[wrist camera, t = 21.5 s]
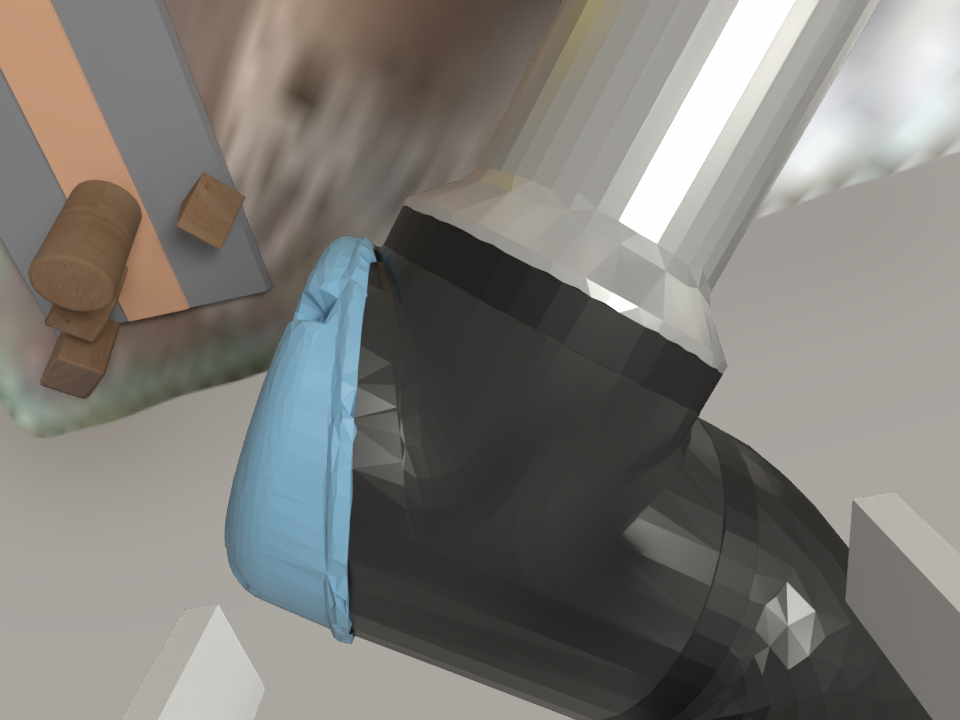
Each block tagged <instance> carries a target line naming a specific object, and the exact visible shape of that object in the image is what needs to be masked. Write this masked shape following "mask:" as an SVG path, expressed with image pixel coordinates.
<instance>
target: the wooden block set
mask: <svg viewBox="0 0 960 720" xmlns="http://www.w3.org/2000/svg"><path fill="white" fill-rule="evenodd" d="M244 199H245V197H244V196H243V195H241V194H240V193H238V192H236V191H235V190H233V189H232V188H230V187H228V186H227V185H225V184H223V183H222V182H220V181H219V180H217V179H215V178H214V177H212V176H211V175H209V174H207V173H206V172H203V173H202V174H201V176H200V177H199V179H198V180H197V182H196V183H195V185H194V186H193V188H192V189H191V190H190V192H189V193H188V195H187V196H186V198H185V199H184V201H183V202H182V205H181V209H180V213H179V218H178V222H177V227H179V228H180V229H182V230H184V231H186V232H188V233H190V234H192V235H193V236H195V237H197V238H199V239H201V240H203V241H205V242H206V243H208V244H210V245H212V246H214V247H216V248H217V249H219V250H221V248H222V246H223V244H224V242H225V240H226V238H227V235H228V233H229V231H230V229H231V227H232V225H233V223H234V220H235V218H236V216H237V214H238V212H239V210H240V207H241V205H242V203H243V201H244ZM141 219H142V213H141V208H140V206H139V204H138V202H137V201H136V199H135V198H134V197H133V196H132V195H131V194H130V193H129V192H128V191H126V190H125V189H123V188H122V187H120V186H118V185H116V184H113V183H111V182H108V181H102V180H87V181H84V182H82V183H79V184H78V185H77V186H76V187H75V188H74V189H73V190H72V192H71V194H70V195H69V197H68V199H67V201H66V202H65V204H64V206H63V208H62V209H61V211H60V213H59V215H58V217H57V218H56V220H55V222H54V224H53V225H52V227H51V229H50V231H49V232H48V234H47V236H46V238H45V240H44V241H43V243H42V245H41V247H40V248H39V250H38V252H37V254H36V255H35V257H34V259H33V261H32V262H31V264H30V267H29V271H28V275H29V279H30V283H31V285H32V286H33V288H34V289H35V290H36V292H37V293H38V294H39V295H41V296H42V297H43V298H44V299H46V300H47V301H49V302H51V303H53V305H52V307H51V309H50V312H49V314H48V316H47V318H46V320H45V324H46V325H47V326H49V327H52V328H54V329H57V330H60V331H61V333H60V336H59V338H58V340H57V343H56V345H55V347H54V350H53V352H52V354H51V357H50V359H49V362H48V364H47V366H46V369H45V371H44V373H43V376H42V378H41V380H40V381H41V385H42V386H44V387H48V388H51V389H54V390H57V391H60V392H63V393H66V394H70V395H73V396H76V397H79V398H82V399H86V398H87V397H89V396H90V394H91V393H92V391H93V390H94V389H95V387H96V386H97V385H98V383H99V382H100V380H101V379H102V378H103V376H104V375H105V372H106V369H107V365H108V362H109V359H110V356H111V352H112V349H113V346H114V343H115V340H116V336H117V333H118V330H119V324H118V323H117V322H115V321H112V320H110V319H109V318H110V316H111V314H112V312H113V310H114V308H115V306H116V304H117V302H118V299H119V296H120V293H121V290H122V287H123V284H124V281H125V278H126V275H127V272H128V268H127V267H126V266H125V265H126V262H127V260H128V257H129V254H130V251H131V248H132V245H133V242H134V239H135V236H136V233H137V230H138V227H139V224H140V221H141Z"/></svg>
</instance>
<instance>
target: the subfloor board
mask: <svg viewBox="0 0 960 720" xmlns="http://www.w3.org/2000/svg"><path fill="white" fill-rule="evenodd" d="M203 172H206V173H207V174H209V175H211V176H212V177H214V178H215V179H217V180H219V181H220V182H222V183H223V184H225V185H227V186H228V187H230V188H232V189H233V190H235V191H236V189H235V187H234V184H233V181H232V179H231V176H230V174H229V171H228V168H227V166H226V163H225V160H224V158H223V155H222V153H221V150H220V147H219V145H218V142H217V140H216V137H215V134H214V132H213V129H212V126H211V124H210V121H209V119H208V116H207V113H206V111H205V108H204V106H203V103H202V100H201V98H200V95H199V92H198V90H197V87H196V85H195V82H194V79H193V77H192V74H191V72H190V69H189V66H188V64H187V61H186V58H185V56H184V53H183V51H182V48H181V45H180V43H179V40H178V38H177V35H176V32H175V30H174V27H173V24H172V22H171V19H170V17H169V14H168V11H167V9H166V6H165V4H164V1H163V0H0V237H1V239H2V241H3V243H4V245H5V246H6V248H7V250H8V252H9V253H10V255H11V257H12V259H13V260H14V262H15V264H16V266H17V267H18V269H19V271H20V273H21V274H22V276H23V278H24V280H25V281H26V283H27V285H28V287H29V288H30V290H31V292H32V294H33V295H34V297H35V299H36V301H37V303H38V304H39V306H40V308H41V310H42V311H43V313H44V315H45V317H46V318H47V316H48V314H49V312H50V309H51V307H52V305H53V303H51V302H49V301H47V300H46V299H44V298H43V297H42V296H41V295H39V294H38V293H37V292H36V290H35V289H34V288H33V286H32V285H31V283H30V279H29V275H28V271H29V267H30V264H31V262H32V261H33V259H34V257H35V255H36V254H37V252H38V250H39V248H40V247H41V245H42V243H43V241H44V240H45V238H46V236H47V234H48V232H49V231H50V229H51V227H52V225H53V224H54V222H55V220H56V218H57V217H58V215H59V213H60V211H61V209H62V208H63V206H64V204H65V202H66V201H67V199H68V197H69V195H70V194H71V192H72V190H73V189H74V188H75V187H76V186H77V185H78V184H79V183H82V182H84V181H87V180H102V181H108V182H111V183H113V184H116V185H118V186H120V187H122V188H123V189H125V190H126V191H128V192H129V193H130V194H131V195H132V196H133V197H134V198H135V199H136V201H137V202H138V204H139V206H140V208H141V213H142V219H141V221H140V224H139V227H138V230H137V233H136V236H135V239H134V242H133V245H132V248H131V251H130V254H129V257H128V260H127V262H126V265H125V266H126V267H127V268H128V272H127V275H126V278H125V281H124V284H123V287H122V290H121V293H120V296H119V299H118V302H117V304H116V306H115V308H114V310H113V312H112V314H111V316H110V318H109V319H110V320H112V321H115V322H117V323H121V322H126V321H129V322H130V321H135V320H139V319H144V318H149V317H153V316H158V315H163V314H167V313H172V312H177V311H181V310H186V309H189V308H191V307H196V306H200V305H205V304H210V303H214V302H219V301H224V300H228V299H233V298H238V297H242V296H247V295H252V294H256V293H261V292H266V291H268V290H269V289H270V288H272V287H273V286H272V283H271V281H270V278H269V276H268V273H267V270H266V268H265V265H264V263H263V260H262V257H261V255H260V252H259V249H258V247H257V244H256V242H255V239H254V236H253V234H252V231H251V229H250V226H249V223H248V221H247V218H246V215H245V213H244V210H243V208H242V205H241V207H240V210H239V212H238V214H237V216H236V218H235V220H234V223H233V225H232V227H231V229H230V231H229V233H228V235H227V238H226V240H225V242H224V244H223V246H222V248H221V250H219V249H217V248H216V247H214V246H212V245H210V244H208V243H206V242H205V241H203V240H201V239H199V238H197V237H195V236H193V235H192V234H190V233H188V232H186V231H184V230H182V229H180V228H179V227H177V222H178V218H179V213H180V209H181V205H182V202H183V201H184V199H185V198H186V196H187V195H188V193H189V192H190V190H191V189H192V188H193V186H194V185H195V183H196V182H197V180H198V179H199V177H200V176H201V174H202V173H203ZM52 329H53V331H54V332H55V334H56V336H60V333H61V331H60V330H57V329H54V328H52Z"/></svg>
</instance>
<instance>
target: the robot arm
mask: <svg viewBox="0 0 960 720" xmlns="http://www.w3.org/2000/svg"><path fill="white" fill-rule="evenodd" d="M879 2H880V0H561V2H560V4H559V6H558V8H557V10H556V12H555V14H554V16H553V18H552V20H551V22H550V24H549V26H548V28H547V30H546V32H545V34H544V36H543V38H542V40H541V42H540V44H539V46H538V48H537V50H536V52H535V54H534V56H533V58H532V60H531V62H530V64H529V66H528V68H527V70H526V72H525V74H524V76H523V78H522V80H521V82H520V84H519V86H518V88H517V90H516V91H515V93H514V95H513V97H512V99H511V101H510V103H509V105H508V107H507V109H506V111H505V113H504V115H503V117H502V119H501V121H500V123H499V125H498V127H497V129H496V131H495V133H494V135H493V137H492V139H491V141H490V143H489V145H488V147H487V149H486V151H485V153H484V155H483V157H482V159H481V161H480V163H479V165H478V166H477V167H476V168H475V170H474V171H473V172H472V173H470V174H469V175H467V176H466V177H465V178H463V179H461V180H458V181H455V182H452V183H449V184H446V185H443V186H440V187H437V188H434V189H431V190H428V191H425V192H422V193H419V194H416V195H413V196H410V197H407V199H406V201H405V202H404V204H403V206H402V209H401V211H400V213H399V215H398V217H397V219H396V221H395V223H394V225H393V227H392V229H391V231H390V233H389V235H388V237H387V239H386V241H385V243H384V244H383V245H382V247H377V246H375V245H374V244H373V243H371V241H370V240H369V239H368V237H365V238H363V239H360V238H356V237H352V236H342V237H339V238H337V239H335V240H334V241H332V242H331V243H330V244H329V245H328V246H327V248H326V249H325V250H324V252H323V253H322V255H321V256H320V258H319V259H318V261H317V263H316V264H315V266H314V268H313V269H312V271H311V273H310V275H309V277H308V279H307V281H306V284H305V287H304V290H303V293H302V295H301V297H300V300H299V302H298V305H297V308H296V312H295V315H294V318H293V321H291V322H290V323H288V325H287V327H286V330H285V332H284V334H283V336H282V338H281V340H280V342H279V344H278V346H277V349H276V351H275V354H274V356H273V359H272V362H271V364H270V367H269V370H268V372H267V375H266V378H265V381H264V383H263V386H262V389H261V392H260V394H259V397H258V400H257V404H256V407H255V410H254V413H253V416H252V419H251V422H250V425H249V428H248V431H247V434H246V438H245V441H244V444H243V448H242V451H241V454H240V458H239V461H238V465H237V469H236V472H235V476H234V480H233V485H232V489H231V495H230V499H229V504H228V509H227V515H226V523H225V546H226V549H227V554H228V561H229V564H230V567H231V570H232V572H233V574H234V575H235V577H236V578H237V580H238V581H239V582H240V583H241V585H242V586H243V587H244V588H245V590H247V591H248V592H250V593H251V594H252V595H254V596H255V597H258V598H259V599H262V600H264V601H266V602H268V603H271V604H273V605H275V606H278V607H280V608H282V609H285V610H287V611H289V612H292V613H294V614H296V615H299V616H301V617H303V618H306V619H308V620H310V621H313V622H315V623H317V624H320V625H322V626H325V627H327V628H329V629H331V632H332V634H333V637H334V638H336V639H337V640H338V641H340V642H344V643H348V644H352V642H353V639H354V637H355V636H357V637H360V638H363V639H365V640H368V641H370V642H373V643H376V644H378V645H381V646H384V647H386V648H389V649H392V650H394V651H397V652H400V653H402V654H405V655H408V656H411V657H413V658H416V659H419V660H421V661H424V662H426V663H429V664H432V665H435V666H437V667H440V668H442V669H445V670H447V671H450V672H453V673H455V674H458V675H461V676H463V677H466V678H468V679H471V680H474V681H476V682H479V683H481V684H484V685H487V686H489V687H492V688H495V689H497V690H500V691H502V692H505V693H508V694H510V695H513V696H516V697H518V698H521V699H523V700H526V701H529V702H531V703H534V704H536V705H539V706H542V707H545V708H547V709H550V710H552V711H555V712H558V713H560V714H563V715H565V716H568V717H571V718H572V719H575V720H960V554H959V553H958V552H957V551H956V550H955V549H954V548H952V546H951V545H949V544H948V543H947V542H946V541H945V540H944V539H943V538H942V537H941V536H940V535H939V534H938V533H937V532H936V531H934V530H933V529H932V528H931V527H930V526H929V525H928V524H927V523H926V522H925V521H924V520H923V519H922V518H921V517H920V516H918V515H917V514H916V513H915V512H914V511H913V510H912V509H911V508H910V507H909V506H908V505H907V504H905V502H904V501H903V500H901V499H900V498H899V497H898V496H897V495H896V494H895V493H894V492H893V493H887V494H881V495H875V496H869V497H863V498H857V499H853V502H852V517H851V531H850V544H849V548H848V547H847V545H846V544H845V543H844V542H843V540H842V539H841V538H840V536H839V535H838V534H837V533H836V532H835V530H834V529H833V528H832V527H831V525H830V524H829V523H828V522H827V520H826V519H825V518H824V517H823V515H822V514H821V513H820V512H819V510H818V509H817V508H816V507H815V506H814V505H813V503H811V502H810V501H809V499H808V498H807V497H806V496H805V495H804V494H803V493H802V492H801V491H800V490H799V489H798V488H797V487H796V486H795V485H794V484H793V483H792V482H791V481H790V480H789V479H788V478H787V477H785V475H783V474H782V473H781V472H780V471H779V470H778V469H777V468H775V467H774V466H773V465H772V464H771V463H769V462H768V461H767V460H766V459H764V458H763V457H762V456H761V455H760V454H758V453H757V452H756V451H755V450H754V449H752V448H751V447H750V446H749V445H747V444H745V443H743V442H741V441H740V440H738V439H737V438H735V437H733V436H731V435H730V434H728V433H726V432H724V431H722V430H720V429H719V428H717V427H715V426H714V425H712V424H710V423H708V422H706V421H704V420H702V419H700V418H698V417H699V415H700V412H701V410H702V408H703V407H704V405H705V403H706V402H707V400H708V398H709V397H710V395H711V393H712V392H713V390H714V388H715V386H716V385H717V383H718V382H719V380H720V378H721V377H722V375H723V373H724V371H725V370H726V368H727V362H726V359H725V356H724V353H723V349H722V346H721V343H720V340H719V336H718V333H717V330H716V327H715V324H714V321H713V317H712V314H711V311H710V294H711V291H712V289H713V288H714V286H715V284H716V282H717V280H718V279H719V277H720V276H721V274H722V272H723V270H724V269H725V267H726V265H727V263H728V261H729V260H730V258H731V256H732V255H733V253H734V251H735V250H736V248H737V246H738V245H739V243H740V241H741V239H742V238H743V236H744V234H745V232H746V231H747V229H748V227H749V225H750V224H751V222H752V220H753V219H754V217H755V215H756V213H757V212H758V210H759V208H760V207H761V205H762V203H763V201H764V200H765V198H766V196H767V195H768V193H769V191H770V189H771V188H772V186H773V184H774V182H775V181H776V179H777V177H778V176H779V174H780V172H781V170H782V169H783V167H784V165H785V164H786V162H787V160H788V158H789V157H790V155H791V153H792V151H793V150H794V148H795V146H796V145H797V143H798V141H799V139H800V138H801V136H802V134H803V132H804V131H805V129H806V127H807V126H808V124H809V122H810V120H811V119H812V117H813V115H814V114H815V112H816V110H817V108H818V107H819V105H820V103H821V101H822V100H823V98H824V96H825V95H826V93H827V91H828V89H829V88H830V86H831V84H832V83H833V81H834V79H835V77H836V76H837V74H838V72H839V70H840V69H841V67H842V65H843V64H844V62H845V60H846V58H847V57H848V55H849V53H850V51H851V50H852V48H853V46H854V45H855V43H856V41H857V39H858V38H859V36H860V34H861V33H862V31H863V29H864V27H865V26H866V24H867V22H868V20H869V19H870V17H871V15H872V14H873V12H874V10H875V8H876V7H877V5H878V3H879ZM264 690H265V687H264V685H263V683H262V681H261V680H260V678H259V676H258V674H257V672H256V671H255V669H254V667H253V665H252V663H251V662H250V660H249V658H248V656H247V655H246V653H245V651H244V649H243V648H242V645H241V644H240V642H239V640H238V638H237V637H236V635H235V633H234V631H233V629H232V628H231V626H230V624H229V622H228V620H227V619H226V617H225V615H224V613H223V612H222V610H221V608H220V606H219V605H218V604H216V605H210V606H203V607H197V608H192V609H186V610H184V612H183V614H182V615H181V617H180V619H179V621H178V622H177V624H176V626H175V627H174V629H173V631H172V633H171V634H170V636H169V638H168V639H167V641H166V643H165V645H164V646H163V648H162V650H161V652H160V653H159V655H158V657H157V658H156V660H155V662H154V664H153V665H152V667H151V669H150V670H149V672H148V674H147V676H146V677H145V679H144V681H143V682H142V684H141V686H140V688H139V689H138V691H137V693H136V695H135V696H134V698H133V700H132V701H131V703H130V705H129V707H128V708H127V710H126V712H125V713H124V715H123V717H122V719H121V720H254V718H255V715H256V712H257V710H258V707H259V704H260V701H261V699H262V695H263V693H264Z"/></svg>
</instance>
